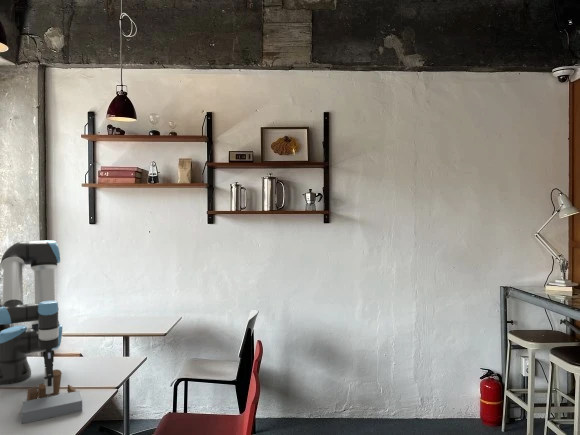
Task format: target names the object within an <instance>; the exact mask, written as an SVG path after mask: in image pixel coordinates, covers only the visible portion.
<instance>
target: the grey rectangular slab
mask: <svg viewBox="0 0 580 435" xmlns="http://www.w3.org/2000/svg"><path fill="white" fill-rule="evenodd" d="M21 404H22V405H21V407H22V408H21V424H28V423H32V421H33V422H36V421H41V420H45V419H51V418H55V417H59V416H65V415H68V414H69V415H70V414H73V413H74V414H75V413H78V412H83V398H82V395H81V391H80V390H76V392H70V393H68V392H66V393H61V394H60V393H59V394H56V395H51V396H48V397H44V398H37V399H34V400H29V401H27V400H25V401H22V403H21Z"/></svg>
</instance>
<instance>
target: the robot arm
mask: <svg viewBox="0 0 580 435" xmlns="http://www.w3.org/2000/svg"><path fill="white" fill-rule="evenodd" d="M60 263H61V253H60V248H59V245H58V242H57V241H55V240H46V239H45V240H28V241H27V240H23V241H18V242H16V243H14V244H12V245H10V246H9V247H8V248H7V249H6V250H5V252H4V253H3V255H2V256H1V259H0V267H1V269H2V271H3V273H2V275H3V276H2V277H3V278H2V279H3V280H2V306H0V325H13V324H20V323H27V322H28V323H29V322H32V323H31V327H29V328H28V327H27V326H26V325H25V324H24V325H23V324H22V325H16V326H10V327H7V328H5V329H3V330H1V331H0V385H7V384H8V385H9V384H15V383H19V382H21V381H24V380H27V379H29V378H30V377H31V376H32V369H31V366H30V364H29V361H28V354H34V353H42V355H43V357H42V358H43V359H44V360H43V361H44V377H43V380H44V384H45V385H46V394H48V395H51V393H53V377H54V375H53V370H54V362H55V360H54V358H55V357H54V356H55V352H54V350H57V349H59V348H60V346H61V343H62V336H63V324H62V323H60V321H59V303H58V301H57V300H55V299H56V297H55V296H56V295H55V294H56V292H55V290H56V289H55V269H56V268H57V267H58V264H60ZM27 265H30V269H31V270H32V271H33V272H34V274H33V275H34V277H33V278H34V303H27V304H24V283H23V276H24V274H23V268H24V267H25V266H27Z"/></svg>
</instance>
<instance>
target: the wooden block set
mask: <svg viewBox="0 0 580 435" xmlns="http://www.w3.org/2000/svg"><path fill="white" fill-rule="evenodd" d="M53 375H54V377H53V393H51V394H50V395H51V396H55V395H59V394H60V390H61V379H62V371H61V370H60V369H53ZM66 389H67V390H66V391H67V393H70V392H76V391H77V390H76V387H74V386H72V385H70V384H68V385H67V388H66ZM44 397H49V394H46V383H39V384H38V388H37V387H36V386H33V387H30V388H27V395H26V401H29V400H34V399H39V398H44Z"/></svg>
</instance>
